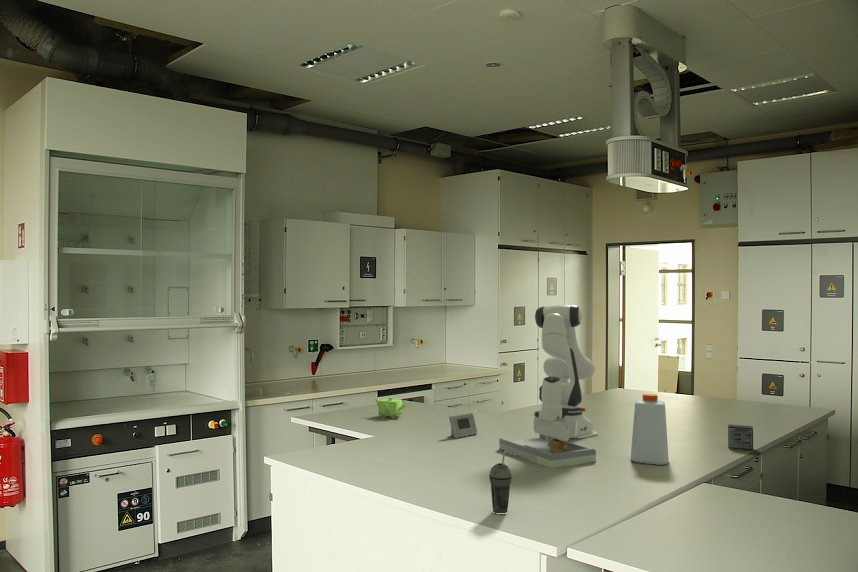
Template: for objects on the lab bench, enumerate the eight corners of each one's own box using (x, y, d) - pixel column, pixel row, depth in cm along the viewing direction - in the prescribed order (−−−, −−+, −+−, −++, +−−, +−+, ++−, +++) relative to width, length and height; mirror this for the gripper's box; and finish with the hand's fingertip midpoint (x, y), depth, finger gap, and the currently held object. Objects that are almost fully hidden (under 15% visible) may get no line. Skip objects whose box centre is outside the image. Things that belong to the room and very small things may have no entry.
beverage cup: (486, 509, 215) (487, 447, 215) (508, 508, 215) (509, 447, 215) (490, 516, 207) (491, 452, 208) (513, 516, 208) (514, 452, 208)
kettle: (372, 416, 375) (373, 396, 376) (395, 414, 382) (395, 394, 383) (384, 420, 362) (384, 399, 363) (407, 418, 369) (407, 398, 370)
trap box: (541, 444, 309) (541, 432, 309) (595, 461, 278) (595, 448, 278) (499, 449, 298) (499, 437, 298) (551, 468, 266) (551, 454, 266)
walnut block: (559, 450, 284) (559, 438, 283) (566, 453, 279) (567, 441, 279) (549, 451, 281) (550, 439, 281) (557, 454, 277) (557, 442, 277)
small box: (753, 448, 307) (753, 425, 307) (753, 451, 301) (753, 428, 301) (728, 445, 311) (728, 423, 311) (727, 448, 305) (728, 425, 305)
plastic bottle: (668, 458, 286) (668, 393, 286) (668, 466, 271) (669, 398, 272) (631, 455, 290) (632, 391, 291) (630, 463, 276) (630, 396, 277)
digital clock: (454, 439, 318) (454, 417, 318) (444, 435, 325) (444, 414, 326) (481, 435, 326) (481, 414, 326) (471, 432, 334) (471, 411, 334)
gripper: (573, 418, 277) (573, 451, 277) (542, 410, 295) (542, 441, 295) (561, 419, 274) (561, 453, 274) (531, 411, 292) (530, 443, 292)
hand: (551, 447), depth 284 cm, fingers closed
